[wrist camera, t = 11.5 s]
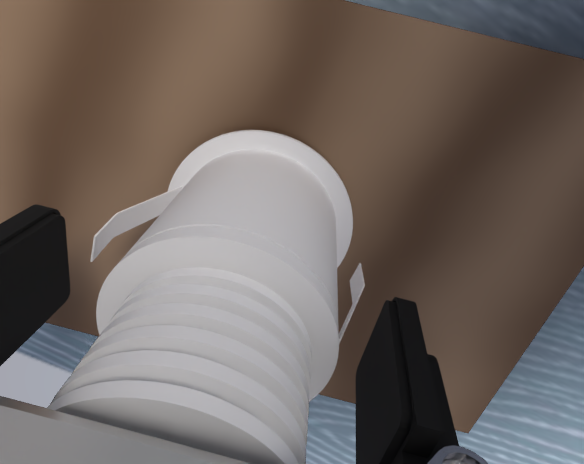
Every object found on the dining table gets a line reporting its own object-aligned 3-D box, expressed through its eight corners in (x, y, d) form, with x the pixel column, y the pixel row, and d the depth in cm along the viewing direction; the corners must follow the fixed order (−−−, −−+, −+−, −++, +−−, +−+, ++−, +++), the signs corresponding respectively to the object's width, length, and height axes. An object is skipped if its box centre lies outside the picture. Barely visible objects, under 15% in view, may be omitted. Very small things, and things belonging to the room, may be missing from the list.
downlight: (143, 254, 17) (-70, 523, 8) (179, 90, 13) (-120, 236, 4) (320, 317, 17) (309, 627, 9) (398, 177, 14) (508, 447, 5)
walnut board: (669, 82, 13) (706, 89, 11) (460, 406, 20) (467, 433, 19) (-55, -96, 13) (-101, -109, 12) (9, 288, 21) (-14, 306, 19)
